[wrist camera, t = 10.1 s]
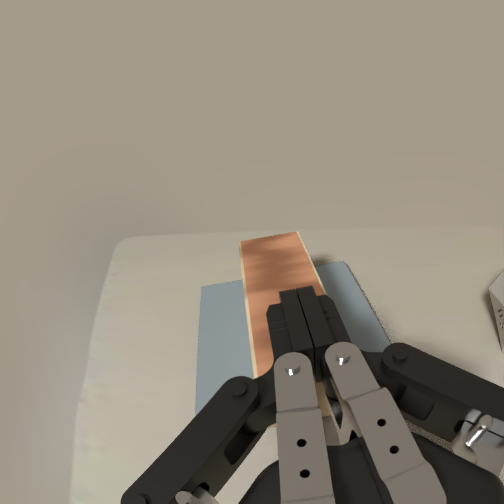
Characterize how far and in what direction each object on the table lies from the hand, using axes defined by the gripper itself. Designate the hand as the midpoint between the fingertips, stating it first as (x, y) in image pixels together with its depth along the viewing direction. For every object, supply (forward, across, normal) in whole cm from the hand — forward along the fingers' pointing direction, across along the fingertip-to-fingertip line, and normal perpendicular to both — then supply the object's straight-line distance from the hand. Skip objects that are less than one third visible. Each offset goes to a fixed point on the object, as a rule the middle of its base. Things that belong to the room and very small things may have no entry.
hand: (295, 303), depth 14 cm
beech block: (-2, 0, +6) cm, 6 cm away
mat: (+7, 0, +9) cm, 11 cm away
